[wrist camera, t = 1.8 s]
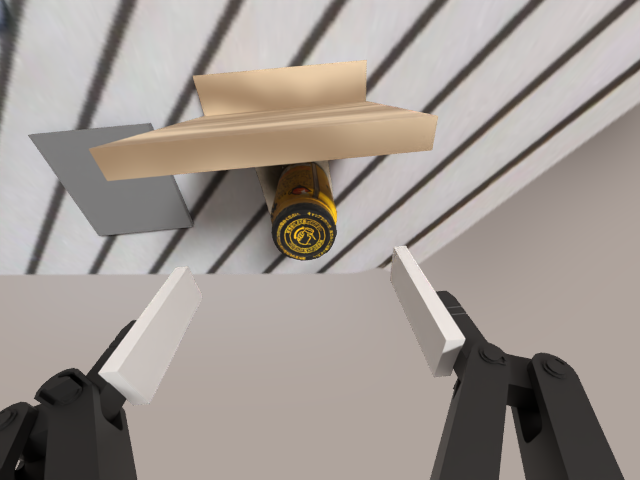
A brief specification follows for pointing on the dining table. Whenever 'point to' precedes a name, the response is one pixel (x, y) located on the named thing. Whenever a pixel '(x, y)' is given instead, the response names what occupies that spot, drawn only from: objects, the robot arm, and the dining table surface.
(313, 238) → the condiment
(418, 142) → the screen
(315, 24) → the dining table surface
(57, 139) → the mat
